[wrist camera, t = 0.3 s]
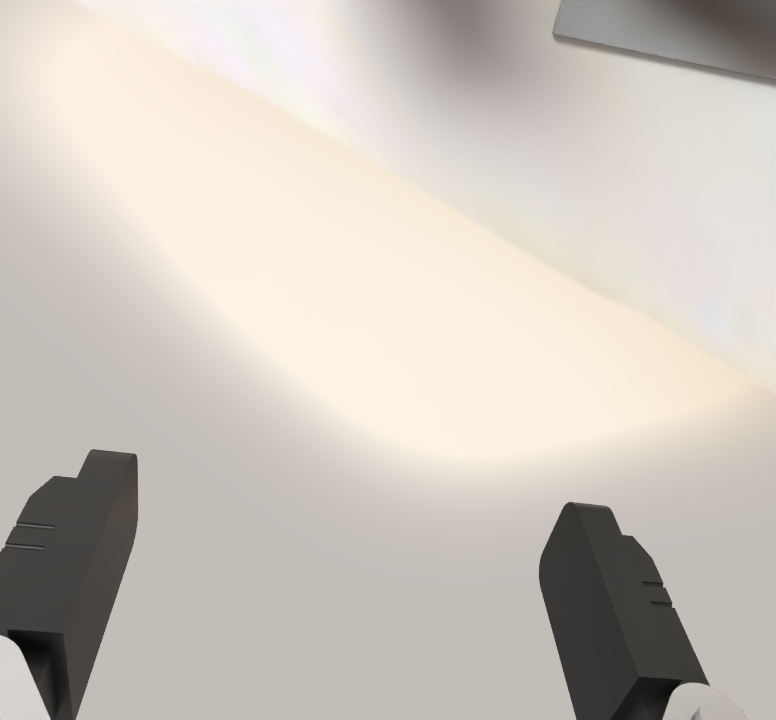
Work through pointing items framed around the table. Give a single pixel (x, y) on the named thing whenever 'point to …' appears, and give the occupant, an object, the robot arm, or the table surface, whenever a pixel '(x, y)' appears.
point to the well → (681, 30)
